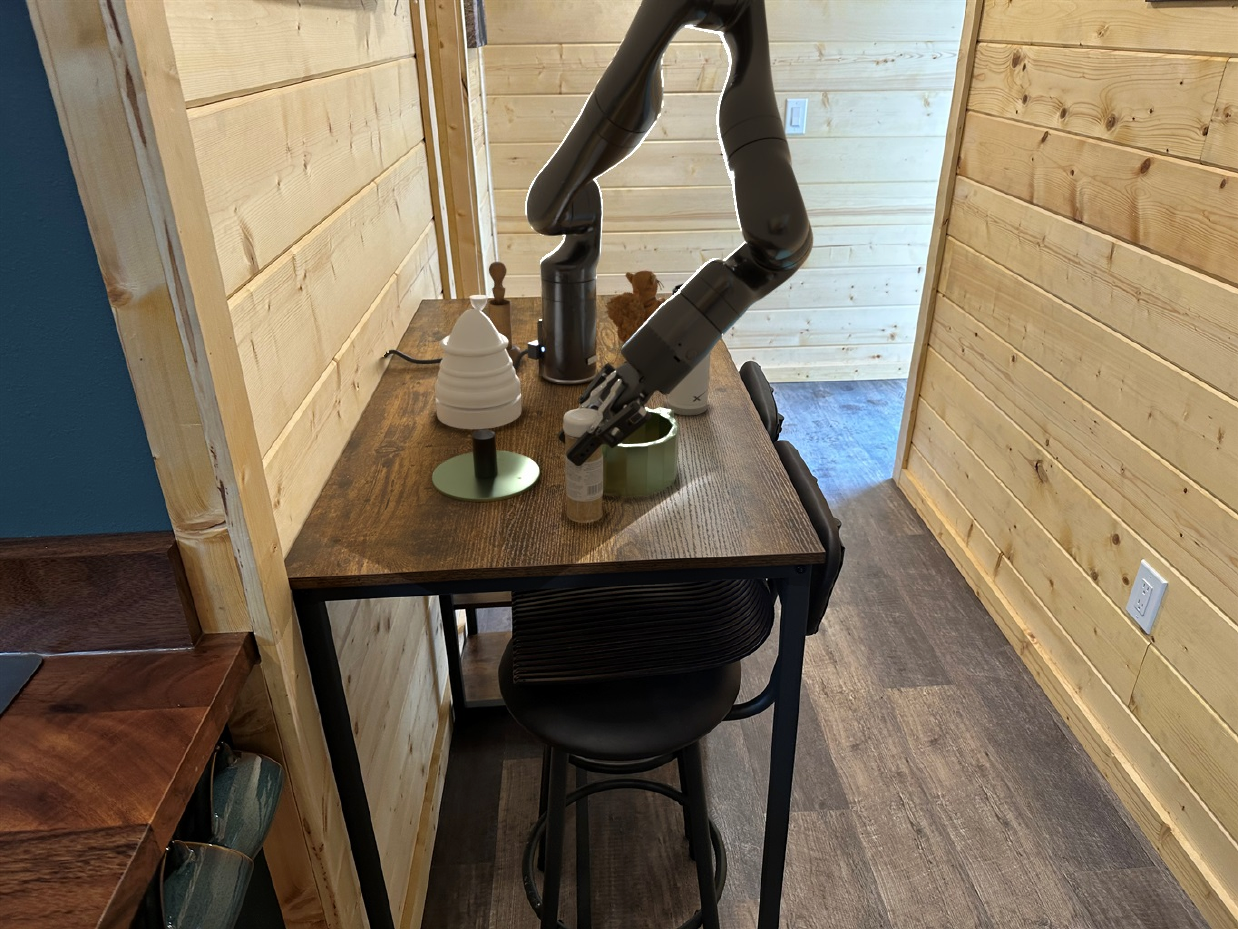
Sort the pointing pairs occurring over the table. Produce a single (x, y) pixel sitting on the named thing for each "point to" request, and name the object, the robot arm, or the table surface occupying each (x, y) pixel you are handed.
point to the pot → (643, 458)
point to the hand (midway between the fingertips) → (567, 450)
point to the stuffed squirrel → (635, 304)
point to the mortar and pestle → (501, 308)
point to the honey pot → (476, 374)
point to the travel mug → (691, 387)
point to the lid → (485, 472)
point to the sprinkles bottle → (583, 470)
